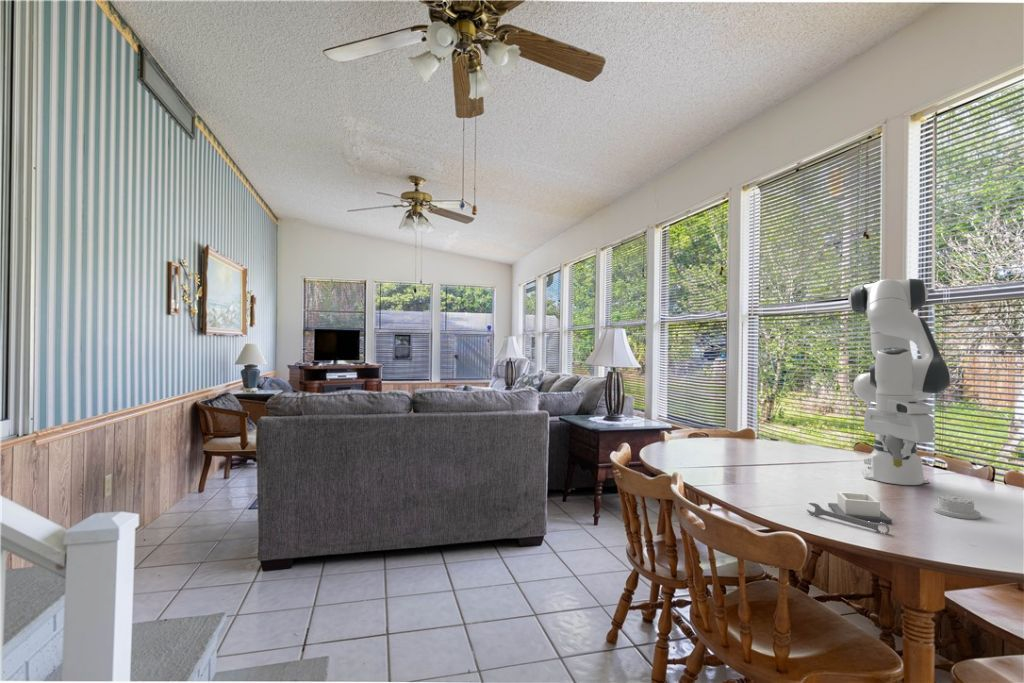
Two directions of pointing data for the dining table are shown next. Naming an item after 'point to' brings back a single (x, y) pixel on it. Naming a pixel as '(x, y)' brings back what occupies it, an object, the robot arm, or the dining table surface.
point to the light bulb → (895, 449)
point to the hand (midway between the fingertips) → (897, 453)
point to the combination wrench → (846, 518)
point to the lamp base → (859, 507)
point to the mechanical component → (956, 507)
